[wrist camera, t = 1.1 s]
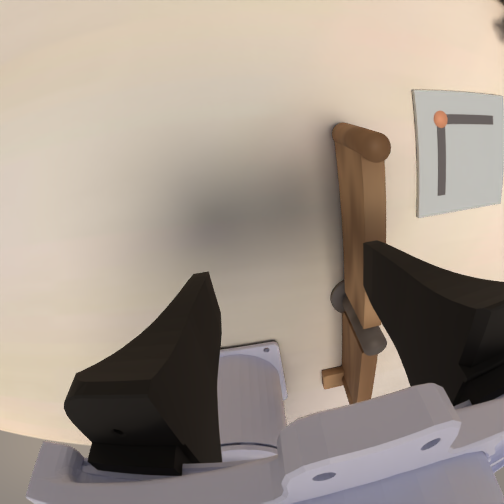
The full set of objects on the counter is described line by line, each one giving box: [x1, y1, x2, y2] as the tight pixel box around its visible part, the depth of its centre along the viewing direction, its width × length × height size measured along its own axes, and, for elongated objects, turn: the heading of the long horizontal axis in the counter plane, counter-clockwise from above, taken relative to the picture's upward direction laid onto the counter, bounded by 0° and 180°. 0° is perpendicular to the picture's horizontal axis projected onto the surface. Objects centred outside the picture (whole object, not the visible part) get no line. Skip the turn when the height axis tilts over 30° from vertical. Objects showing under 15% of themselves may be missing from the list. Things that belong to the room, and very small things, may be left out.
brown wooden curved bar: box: [332, 123, 391, 356], centre depth 18 cm, size 14×2×5 cm, turn 10°
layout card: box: [412, 90, 504, 218], centre depth 18 cm, size 9×9×1 cm
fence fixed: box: [322, 280, 378, 404], centre depth 23 cm, size 5×12×6 cm, turn 10°
